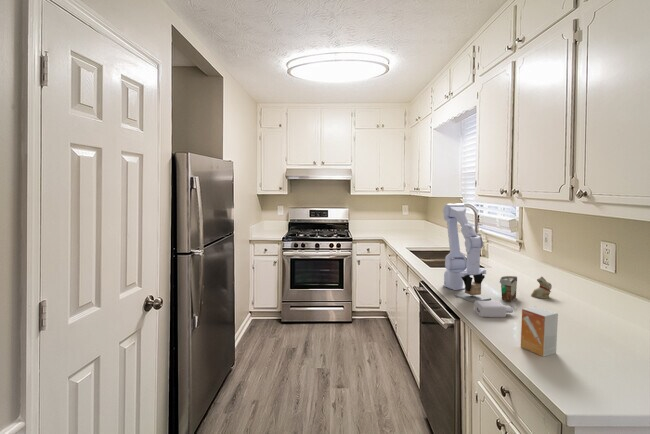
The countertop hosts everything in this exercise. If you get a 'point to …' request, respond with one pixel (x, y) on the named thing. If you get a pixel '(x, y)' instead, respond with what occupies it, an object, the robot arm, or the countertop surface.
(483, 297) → the slate board
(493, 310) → the charger
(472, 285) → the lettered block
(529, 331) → the small box
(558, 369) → the countertop surface
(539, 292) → the chocolate bunny
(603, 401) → the countertop surface
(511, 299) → the food container
